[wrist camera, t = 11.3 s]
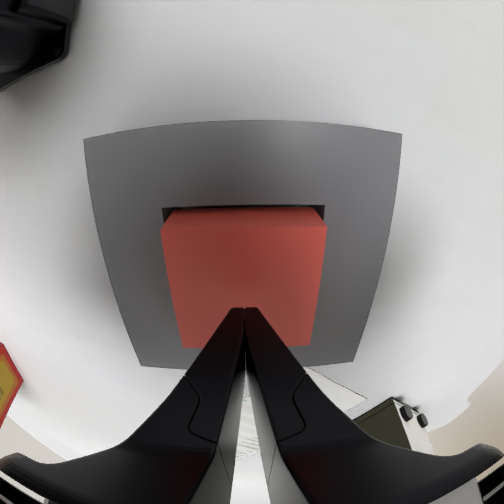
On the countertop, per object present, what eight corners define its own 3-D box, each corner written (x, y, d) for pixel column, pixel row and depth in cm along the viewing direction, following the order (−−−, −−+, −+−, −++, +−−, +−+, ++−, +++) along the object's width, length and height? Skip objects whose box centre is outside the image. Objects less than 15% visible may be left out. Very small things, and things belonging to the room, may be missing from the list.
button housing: (152, 331, 16) (141, 365, 14) (115, 132, 11) (83, 139, 8) (339, 327, 17) (352, 361, 14) (369, 128, 11) (402, 133, 9)
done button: (189, 317, 13) (183, 347, 11) (173, 209, 10) (160, 229, 9) (301, 315, 13) (309, 345, 11) (313, 207, 10) (327, 226, 9)
